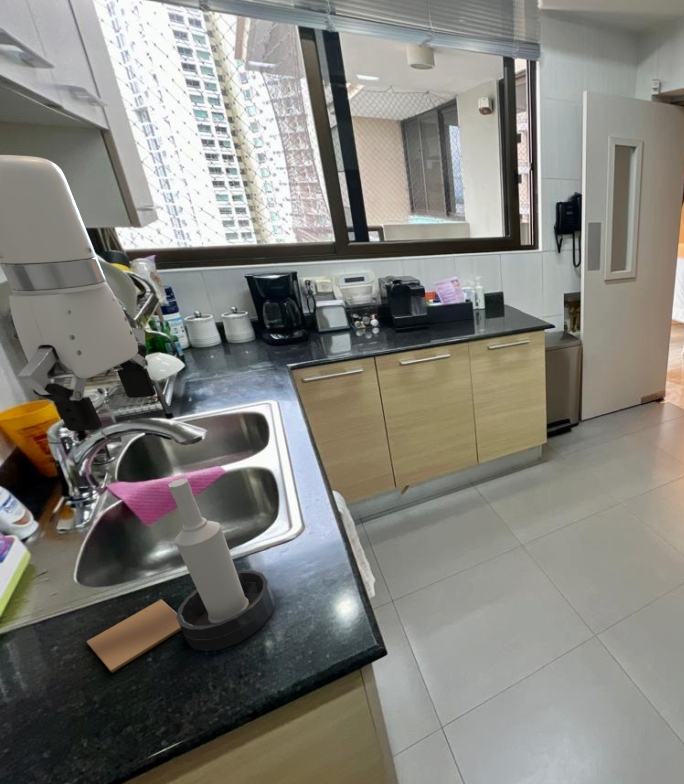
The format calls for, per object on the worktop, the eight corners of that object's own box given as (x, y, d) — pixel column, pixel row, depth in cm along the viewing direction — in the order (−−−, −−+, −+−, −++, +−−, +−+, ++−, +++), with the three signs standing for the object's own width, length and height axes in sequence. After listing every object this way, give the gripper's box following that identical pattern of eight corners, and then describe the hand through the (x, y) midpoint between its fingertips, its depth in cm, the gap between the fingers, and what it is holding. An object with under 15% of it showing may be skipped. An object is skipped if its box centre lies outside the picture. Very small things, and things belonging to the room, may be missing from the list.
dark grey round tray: (172, 630, 71) (161, 608, 69) (252, 580, 80) (244, 560, 78) (208, 665, 66) (198, 642, 64) (289, 608, 75) (282, 587, 73)
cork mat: (87, 643, 68) (86, 641, 68) (162, 601, 76) (161, 599, 75) (112, 673, 64) (110, 670, 64) (188, 625, 71) (187, 622, 71)
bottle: (203, 625, 71) (143, 488, 61) (237, 600, 76) (187, 468, 66) (225, 636, 69) (168, 497, 60) (259, 610, 74) (210, 476, 64)
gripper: (80, 266, 60) (131, 387, 67) (-66, 292, 45) (19, 447, 51) (146, 265, 61) (189, 384, 68) (26, 290, 46) (97, 442, 53)
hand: (116, 411), depth 60 cm, fingers open, 9 cm apart
